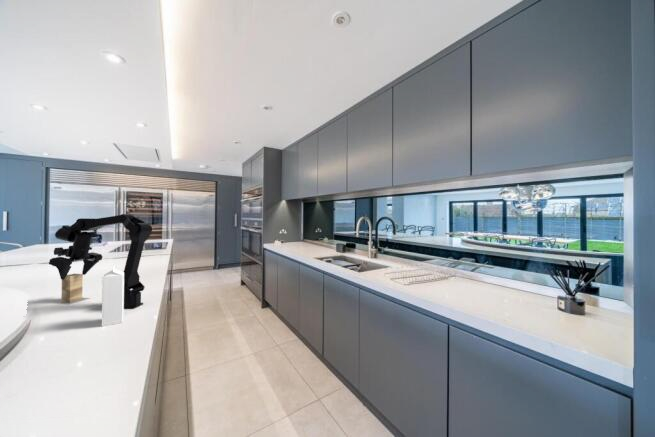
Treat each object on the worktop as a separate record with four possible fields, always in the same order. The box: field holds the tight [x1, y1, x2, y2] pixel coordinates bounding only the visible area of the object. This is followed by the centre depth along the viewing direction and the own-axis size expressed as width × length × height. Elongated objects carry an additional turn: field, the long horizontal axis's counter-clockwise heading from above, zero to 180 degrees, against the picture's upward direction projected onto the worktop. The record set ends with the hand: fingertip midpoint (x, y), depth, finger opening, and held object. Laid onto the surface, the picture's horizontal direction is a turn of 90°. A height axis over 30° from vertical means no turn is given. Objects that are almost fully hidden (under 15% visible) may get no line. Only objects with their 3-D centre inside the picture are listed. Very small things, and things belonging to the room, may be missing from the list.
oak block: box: [60, 273, 84, 303], centre depth 116 cm, size 5×5×12 cm
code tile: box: [53, 297, 91, 306], centre depth 116 cm, size 10×9×1 cm
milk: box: [101, 265, 125, 327], centre depth 94 cm, size 6×6×22 cm
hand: (73, 276), depth 111 cm, fingers open, 9 cm apart
